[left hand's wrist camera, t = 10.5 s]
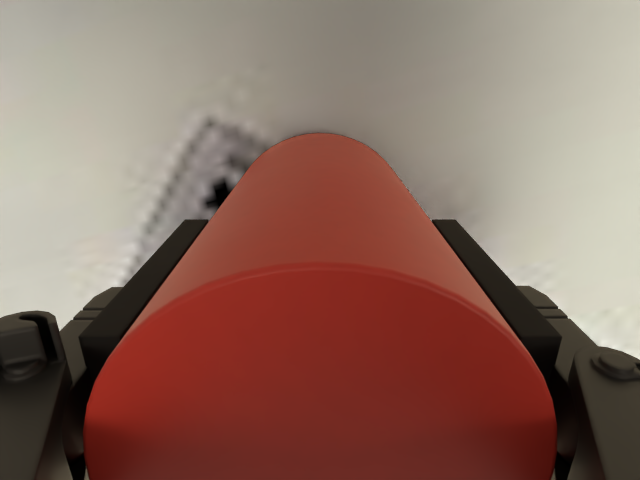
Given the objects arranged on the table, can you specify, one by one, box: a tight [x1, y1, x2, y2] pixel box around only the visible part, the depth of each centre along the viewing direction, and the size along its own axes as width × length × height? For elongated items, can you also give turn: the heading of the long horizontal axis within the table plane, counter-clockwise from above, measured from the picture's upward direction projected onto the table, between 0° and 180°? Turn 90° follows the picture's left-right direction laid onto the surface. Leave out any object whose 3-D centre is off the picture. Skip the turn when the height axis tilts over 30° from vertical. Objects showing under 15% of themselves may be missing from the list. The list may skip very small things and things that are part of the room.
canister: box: [83, 133, 557, 480], centre depth 12 cm, size 7×7×12 cm
